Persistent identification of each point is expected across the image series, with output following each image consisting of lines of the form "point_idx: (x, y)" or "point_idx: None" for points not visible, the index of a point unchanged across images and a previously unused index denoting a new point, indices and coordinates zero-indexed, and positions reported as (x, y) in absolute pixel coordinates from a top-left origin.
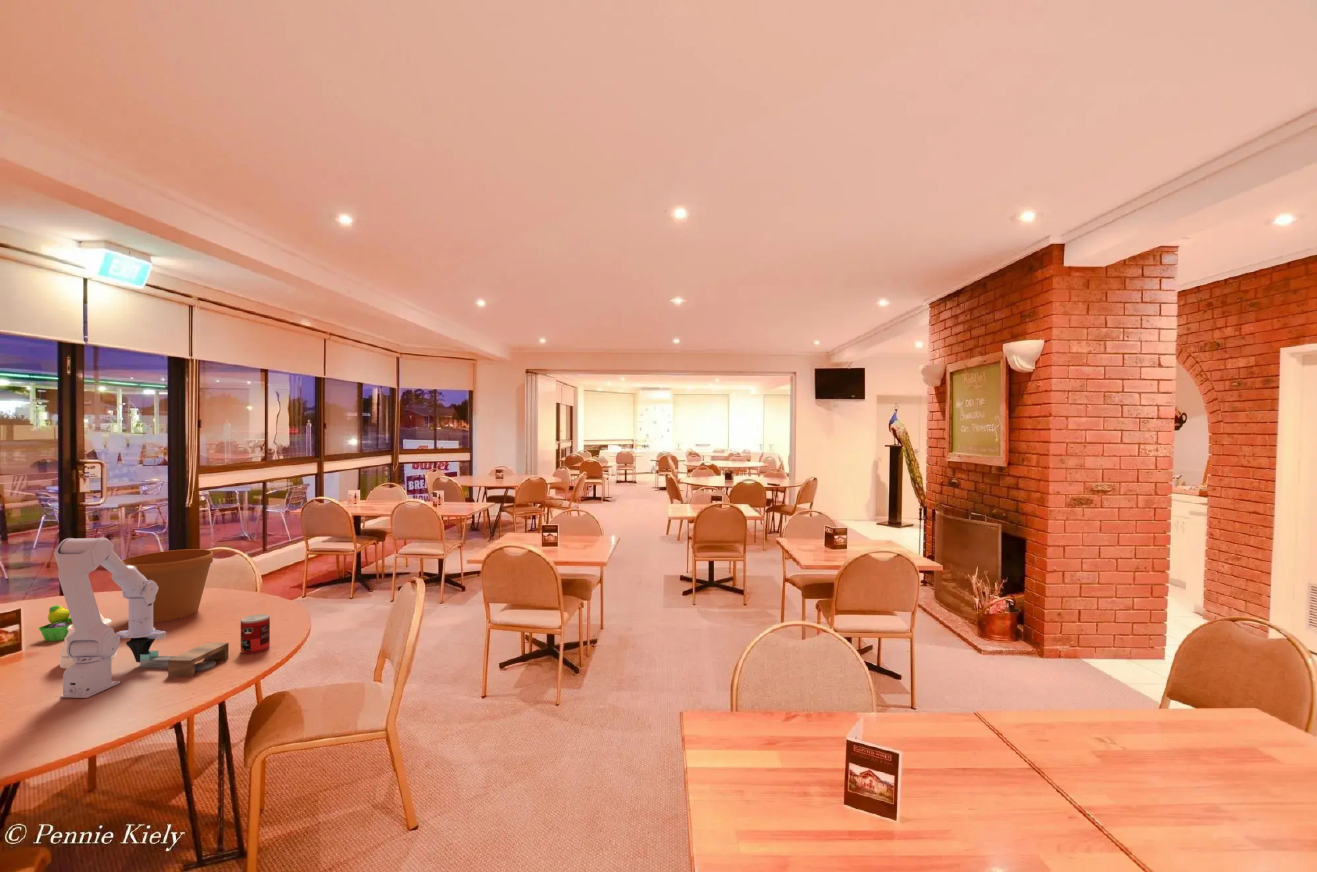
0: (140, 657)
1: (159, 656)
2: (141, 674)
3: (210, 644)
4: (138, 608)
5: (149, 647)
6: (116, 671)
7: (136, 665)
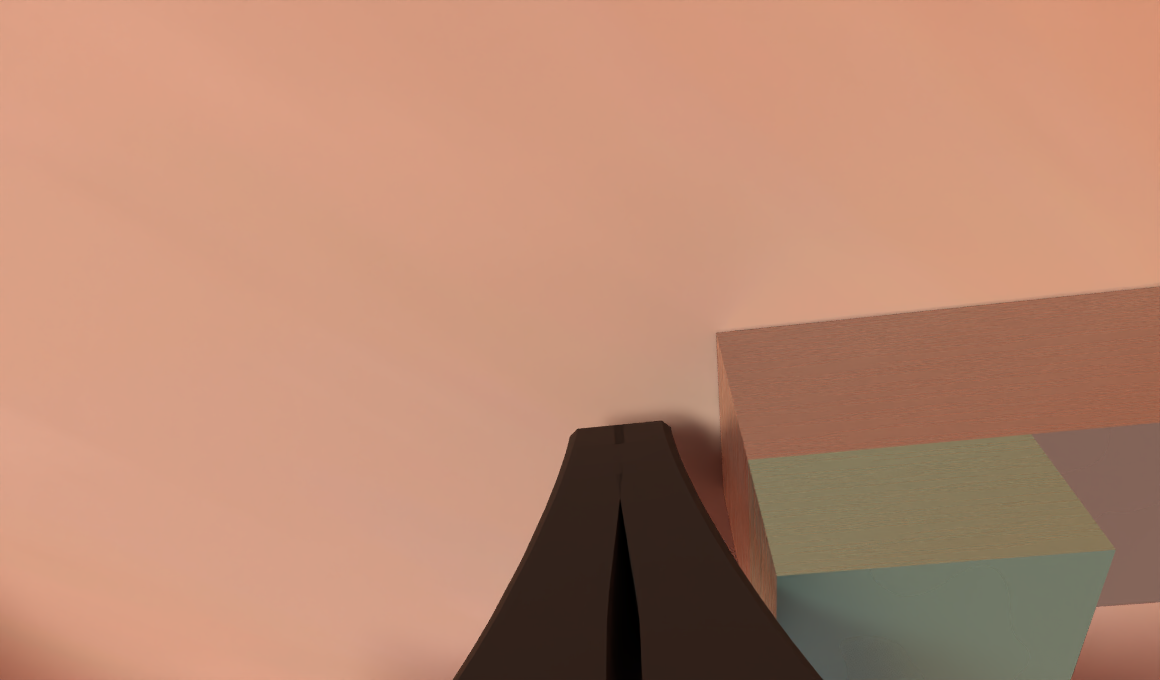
0: None
1: (1103, 462)
2: None
3: None
4: None
5: (798, 666)
6: (468, 623)
7: (527, 427)
